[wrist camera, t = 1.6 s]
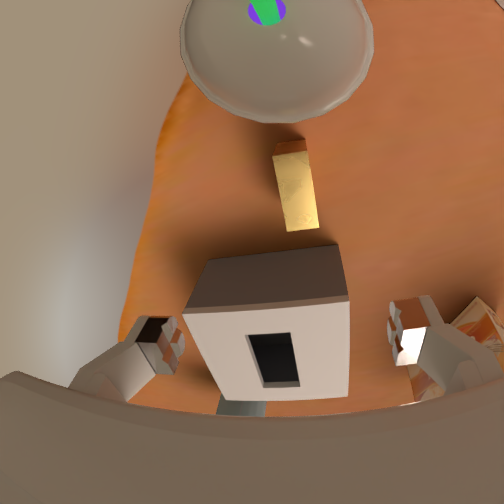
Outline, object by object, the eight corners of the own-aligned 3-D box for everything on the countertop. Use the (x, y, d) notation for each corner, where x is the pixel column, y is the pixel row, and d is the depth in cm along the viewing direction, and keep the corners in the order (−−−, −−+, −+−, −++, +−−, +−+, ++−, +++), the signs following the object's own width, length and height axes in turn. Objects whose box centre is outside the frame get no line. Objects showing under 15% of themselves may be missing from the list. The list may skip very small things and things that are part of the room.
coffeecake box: (476, 294, 29) (535, 416, 13) (496, 312, 30) (547, 420, 14) (403, 363, 37) (424, 482, 20) (429, 373, 38) (452, 479, 21)
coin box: (338, 244, 29) (349, 301, 21) (342, 338, 36) (347, 396, 28) (208, 259, 32) (181, 314, 25) (239, 345, 39) (225, 400, 31)
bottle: (268, 371, 41) (254, 462, 28) (268, 395, 45) (256, 476, 32) (223, 367, 42) (199, 454, 29) (227, 391, 46) (208, 469, 33)
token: (304, 138, 24) (307, 151, 19) (315, 200, 27) (318, 227, 22) (277, 143, 25) (272, 156, 20) (289, 203, 28) (286, 231, 23)
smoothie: (220, 78, 22) (51, 67, 5) (271, 7, 18) (209, -139, 1) (299, 127, 24) (306, 217, 7) (353, 57, 20) (483, -11, 3)
